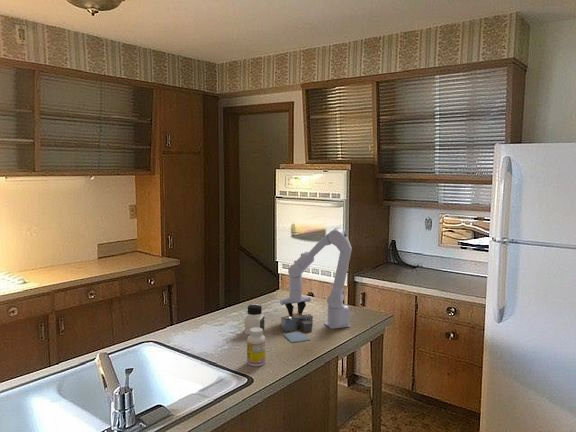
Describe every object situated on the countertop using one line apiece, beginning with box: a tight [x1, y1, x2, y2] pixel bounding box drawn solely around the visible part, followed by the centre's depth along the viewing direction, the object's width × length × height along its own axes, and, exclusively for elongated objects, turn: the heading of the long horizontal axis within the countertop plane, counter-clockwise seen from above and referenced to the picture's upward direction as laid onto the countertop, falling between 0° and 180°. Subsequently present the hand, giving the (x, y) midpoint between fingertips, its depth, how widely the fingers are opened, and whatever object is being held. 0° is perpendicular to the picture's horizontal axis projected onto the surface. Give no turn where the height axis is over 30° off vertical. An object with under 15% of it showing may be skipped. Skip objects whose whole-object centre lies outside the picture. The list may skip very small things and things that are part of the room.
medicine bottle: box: [243, 303, 265, 336], centre depth 209 cm, size 7×7×12 cm
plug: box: [293, 312, 313, 333], centre depth 217 cm, size 4×15×4 cm, turn 22°
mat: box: [282, 331, 310, 344], centre depth 204 cm, size 8×10×1 cm
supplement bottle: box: [246, 327, 266, 367], centre depth 177 cm, size 7×7×13 cm
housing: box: [280, 313, 314, 333], centre depth 215 cm, size 14×5×6 cm, turn 111°
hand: (295, 318), depth 224 cm, fingers closed on plug, 4 cm apart
